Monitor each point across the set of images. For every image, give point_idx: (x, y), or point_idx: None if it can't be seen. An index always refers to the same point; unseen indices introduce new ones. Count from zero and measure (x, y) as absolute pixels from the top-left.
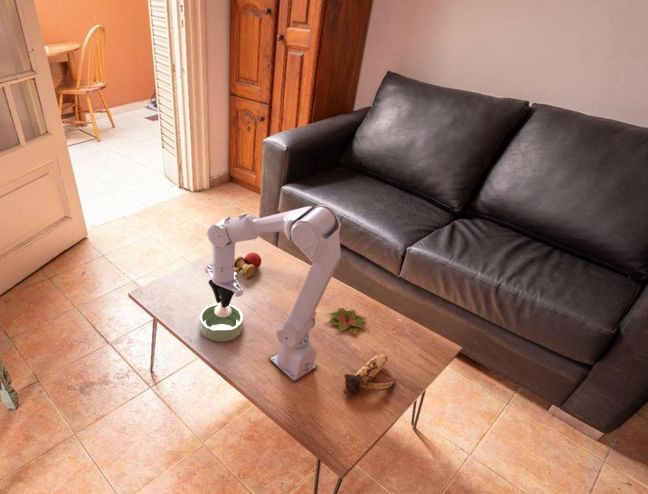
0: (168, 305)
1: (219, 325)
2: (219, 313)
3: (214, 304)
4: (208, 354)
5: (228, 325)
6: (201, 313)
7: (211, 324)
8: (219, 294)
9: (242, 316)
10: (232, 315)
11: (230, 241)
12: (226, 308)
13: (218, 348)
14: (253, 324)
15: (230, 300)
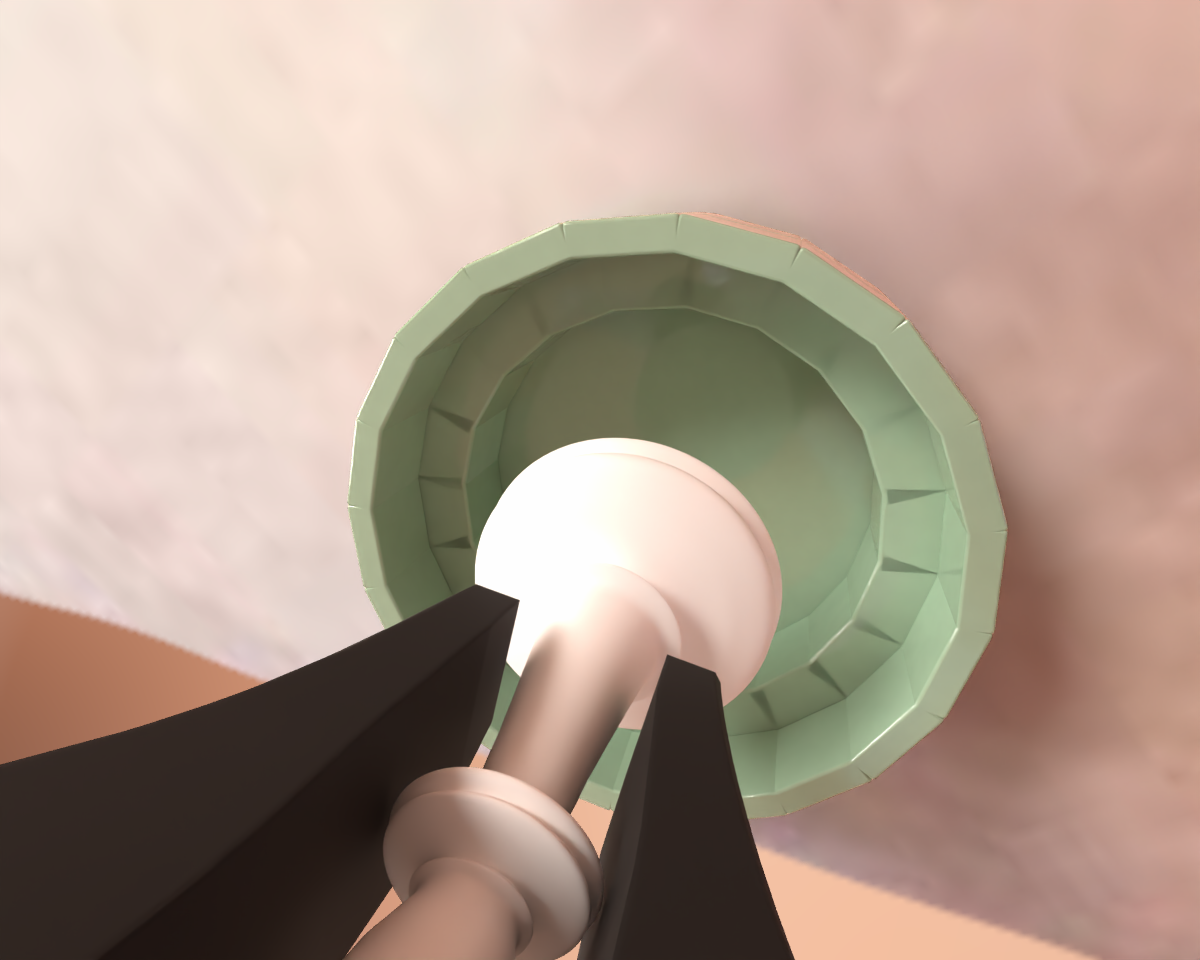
0: (77, 494)
1: None
2: (639, 724)
3: (377, 392)
4: (807, 839)
5: (729, 415)
6: None
7: None
8: (374, 858)
9: (940, 368)
10: (698, 311)
11: None
12: (680, 638)
13: None
14: (1024, 135)
15: (731, 781)
